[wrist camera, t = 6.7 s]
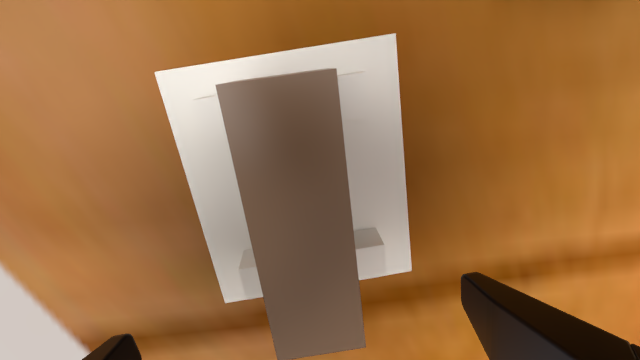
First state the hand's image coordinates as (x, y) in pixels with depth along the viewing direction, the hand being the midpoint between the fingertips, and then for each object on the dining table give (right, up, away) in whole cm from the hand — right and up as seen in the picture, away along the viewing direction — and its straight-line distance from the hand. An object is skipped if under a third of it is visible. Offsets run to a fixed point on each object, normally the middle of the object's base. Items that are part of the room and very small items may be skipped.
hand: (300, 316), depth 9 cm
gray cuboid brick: (0, +3, +8) cm, 8 cm away
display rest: (-1, +4, +10) cm, 11 cm away
